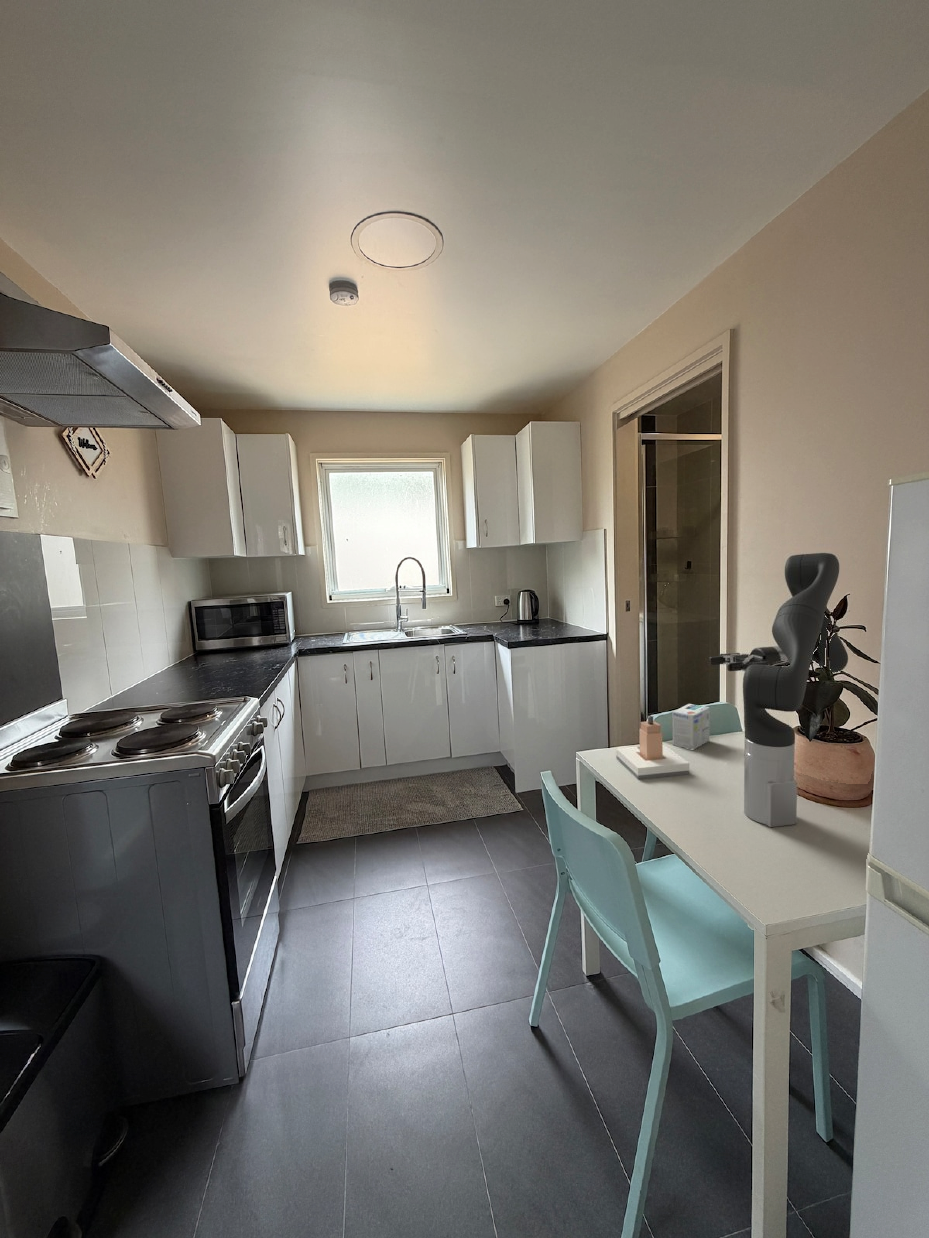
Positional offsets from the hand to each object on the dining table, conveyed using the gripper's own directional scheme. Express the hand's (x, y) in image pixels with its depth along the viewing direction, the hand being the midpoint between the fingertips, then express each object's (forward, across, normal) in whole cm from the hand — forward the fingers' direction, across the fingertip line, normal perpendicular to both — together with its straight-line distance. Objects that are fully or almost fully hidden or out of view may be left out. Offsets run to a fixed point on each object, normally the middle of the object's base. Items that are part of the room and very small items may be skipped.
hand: (718, 664), depth 142 cm
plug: (+22, +4, +25) cm, 34 cm away
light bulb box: (+3, -9, +26) cm, 28 cm away
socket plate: (+22, +4, +26) cm, 34 cm away
